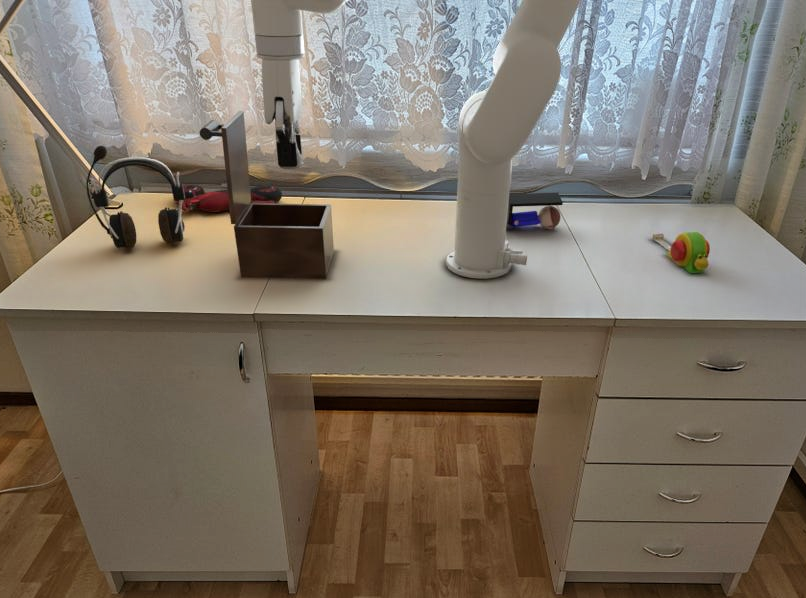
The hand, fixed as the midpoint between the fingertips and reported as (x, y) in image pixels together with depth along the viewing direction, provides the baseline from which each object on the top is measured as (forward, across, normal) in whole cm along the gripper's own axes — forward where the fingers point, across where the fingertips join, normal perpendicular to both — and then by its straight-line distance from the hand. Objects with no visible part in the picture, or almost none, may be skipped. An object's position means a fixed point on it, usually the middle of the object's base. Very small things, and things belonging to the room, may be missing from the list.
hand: (290, 160), depth 114 cm
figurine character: (+20, -22, +46) cm, 55 cm away
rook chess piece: (+1, 0, 0) cm, 1 cm away
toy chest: (+20, -1, -2) cm, 20 cm away
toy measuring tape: (+20, -7, +75) cm, 78 cm away
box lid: (+2, -1, -9) cm, 9 cm away
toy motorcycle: (+20, -31, -22) cm, 43 cm away
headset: (+20, -9, -31) cm, 38 cm away
